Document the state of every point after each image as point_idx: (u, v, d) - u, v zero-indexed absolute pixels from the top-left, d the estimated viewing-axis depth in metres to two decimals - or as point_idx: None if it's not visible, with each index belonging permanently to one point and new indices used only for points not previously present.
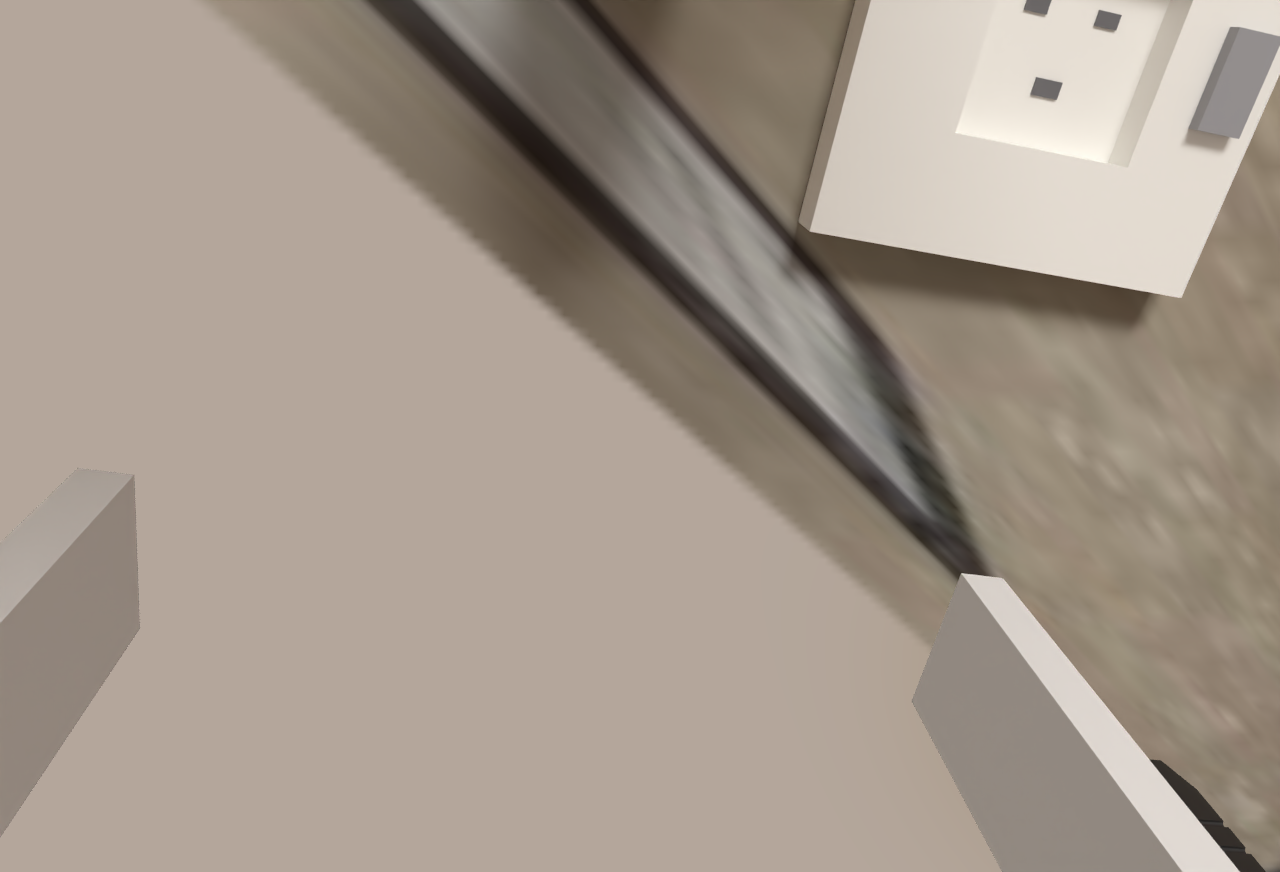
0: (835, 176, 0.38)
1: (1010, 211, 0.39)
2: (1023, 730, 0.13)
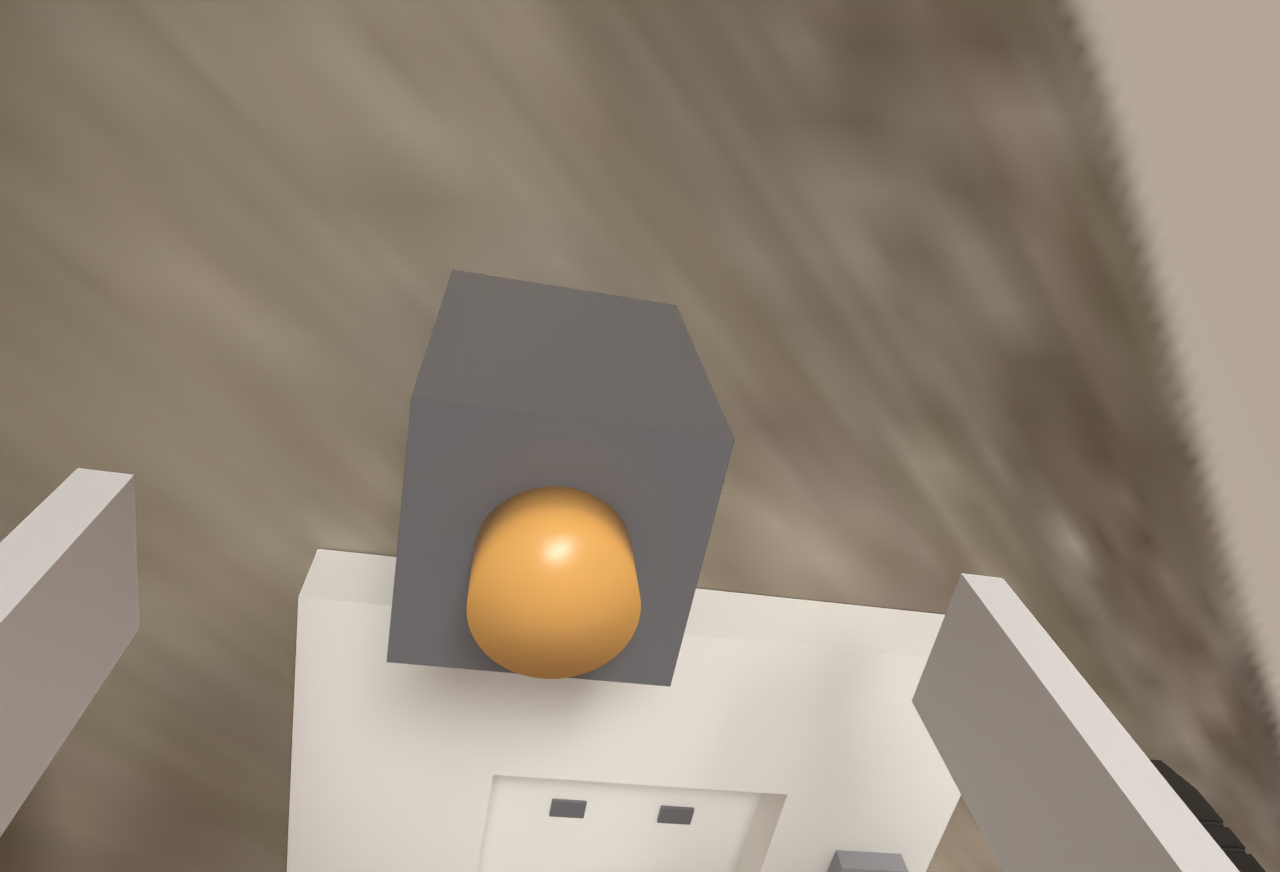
0: None
1: None
2: (1023, 730, 0.13)
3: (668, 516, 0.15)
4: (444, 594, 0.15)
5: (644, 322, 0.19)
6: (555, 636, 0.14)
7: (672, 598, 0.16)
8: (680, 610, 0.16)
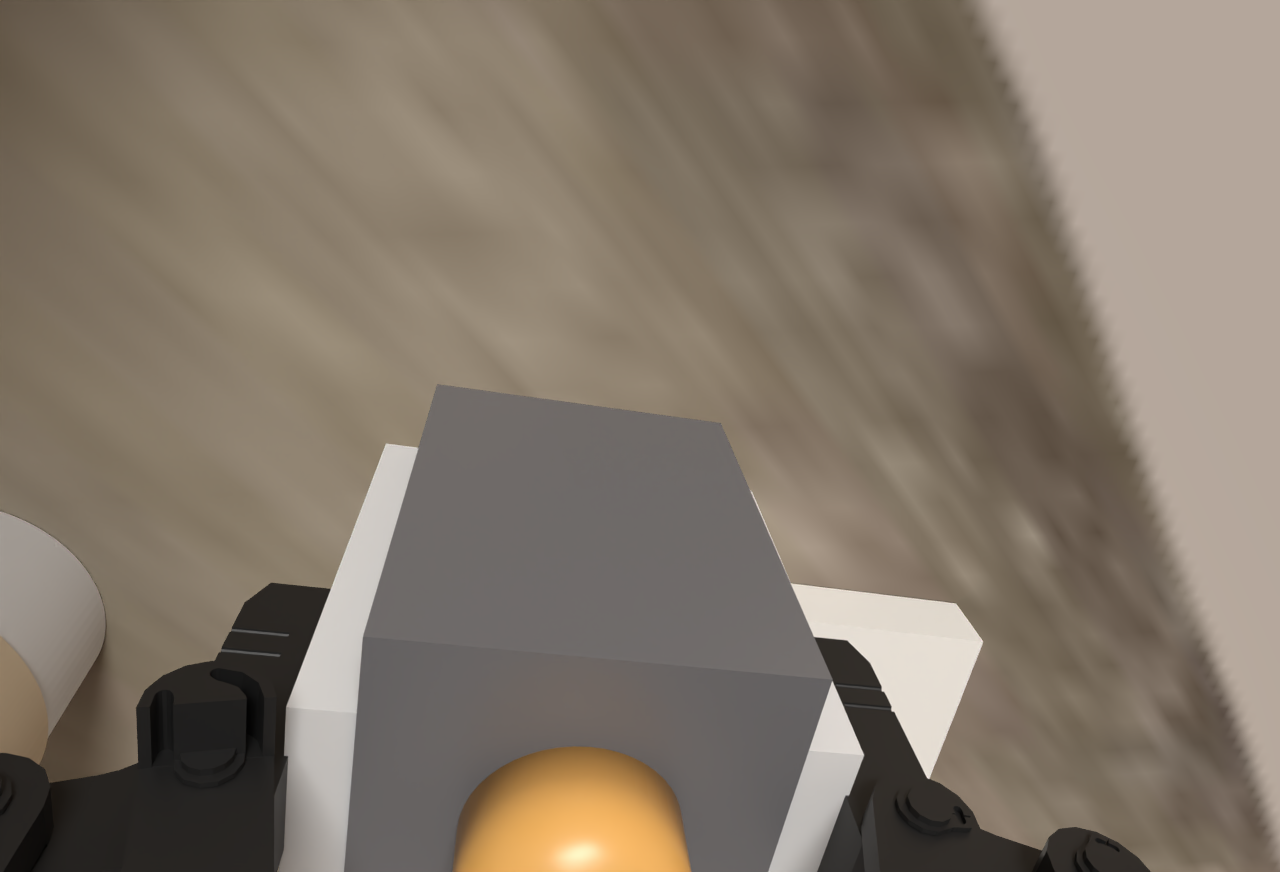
0: None
1: None
2: None
3: (735, 778, 0.10)
4: None
5: (684, 457, 0.15)
6: None
7: None
8: None
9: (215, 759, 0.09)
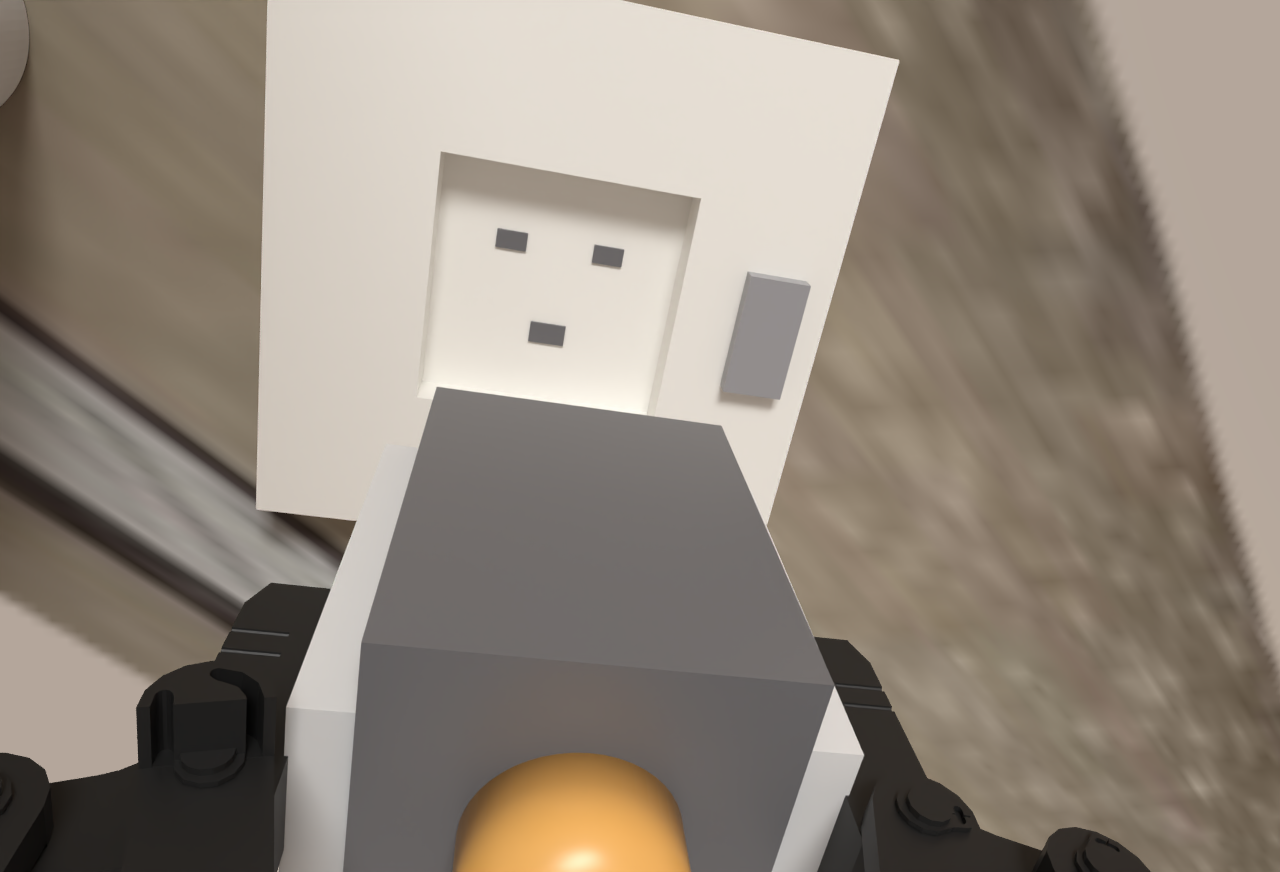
0: (272, 449, 0.31)
1: None
2: None
3: (735, 785, 0.10)
4: None
5: (684, 460, 0.15)
6: None
7: None
8: None
9: (215, 759, 0.09)
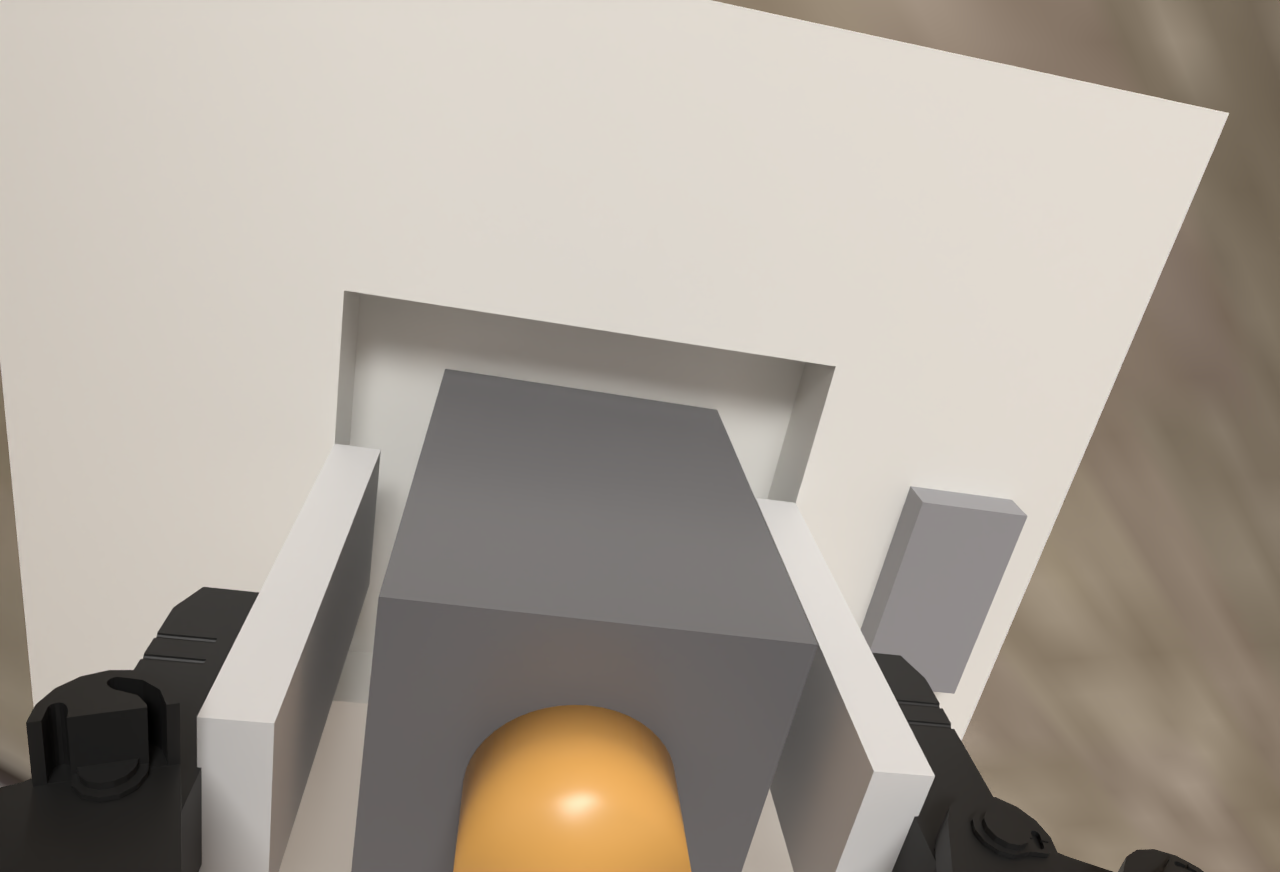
0: None
1: None
2: None
3: (725, 738, 0.11)
4: (423, 837, 0.11)
5: (682, 440, 0.15)
6: None
7: (726, 835, 0.12)
8: (736, 850, 0.12)
9: (115, 771, 0.08)
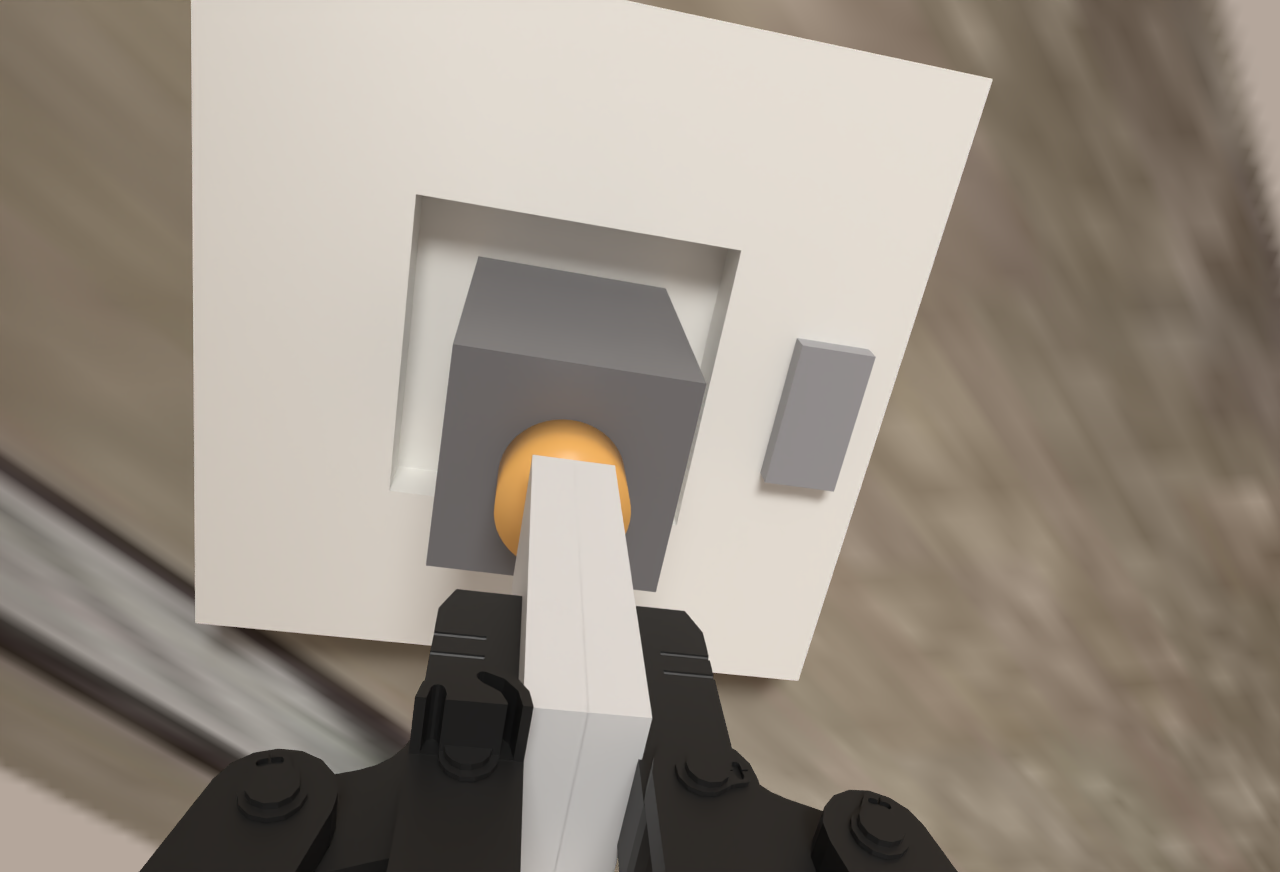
0: (213, 552, 0.25)
1: (506, 586, 0.26)
2: None
3: (654, 446, 0.19)
4: (473, 508, 0.19)
5: (638, 300, 0.23)
6: None
7: (657, 515, 0.19)
8: (664, 526, 0.19)
9: (474, 756, 0.09)
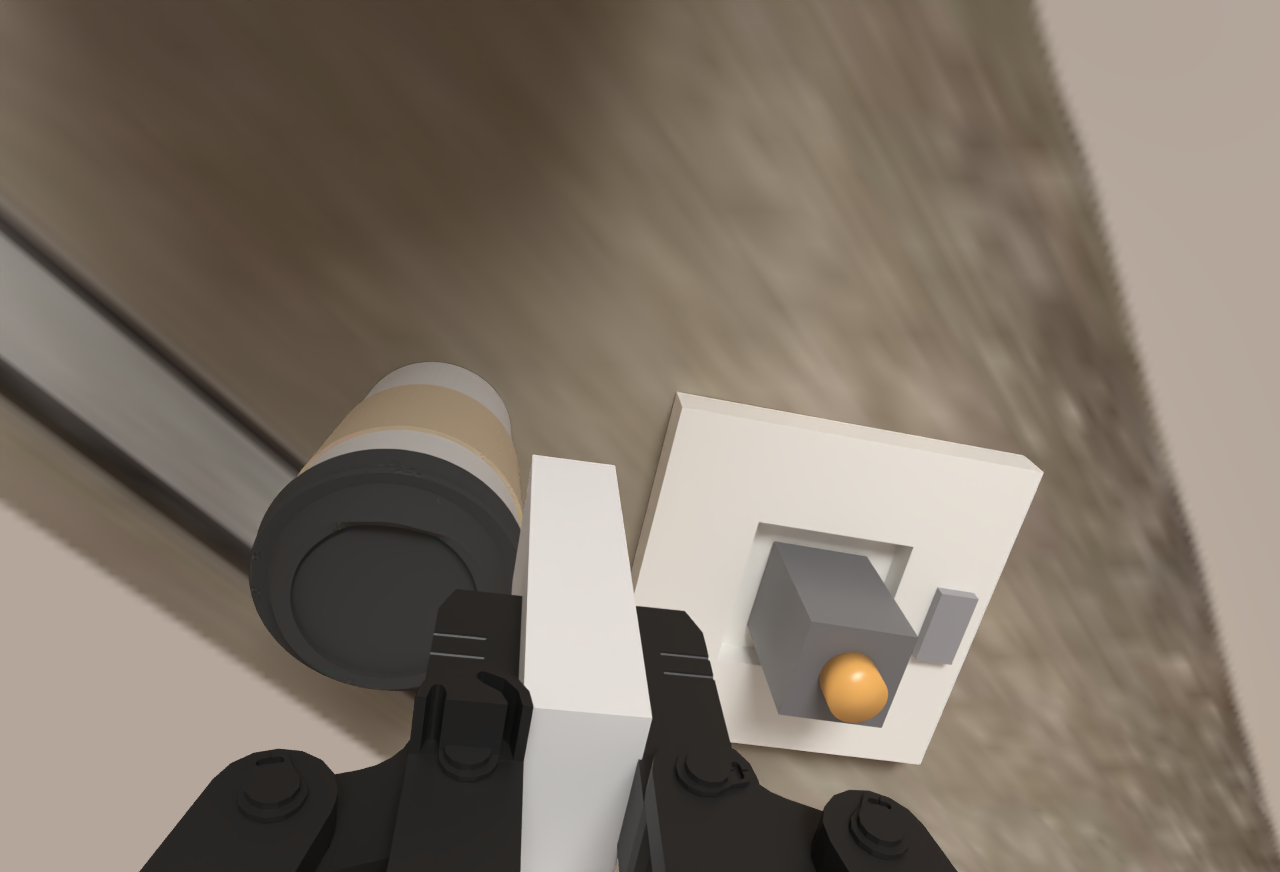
0: None
1: (768, 710, 0.48)
2: None
3: (891, 663, 0.40)
4: (805, 689, 0.40)
5: (860, 570, 0.45)
6: (856, 707, 0.39)
7: (887, 693, 0.41)
8: (890, 698, 0.41)
9: (474, 756, 0.09)
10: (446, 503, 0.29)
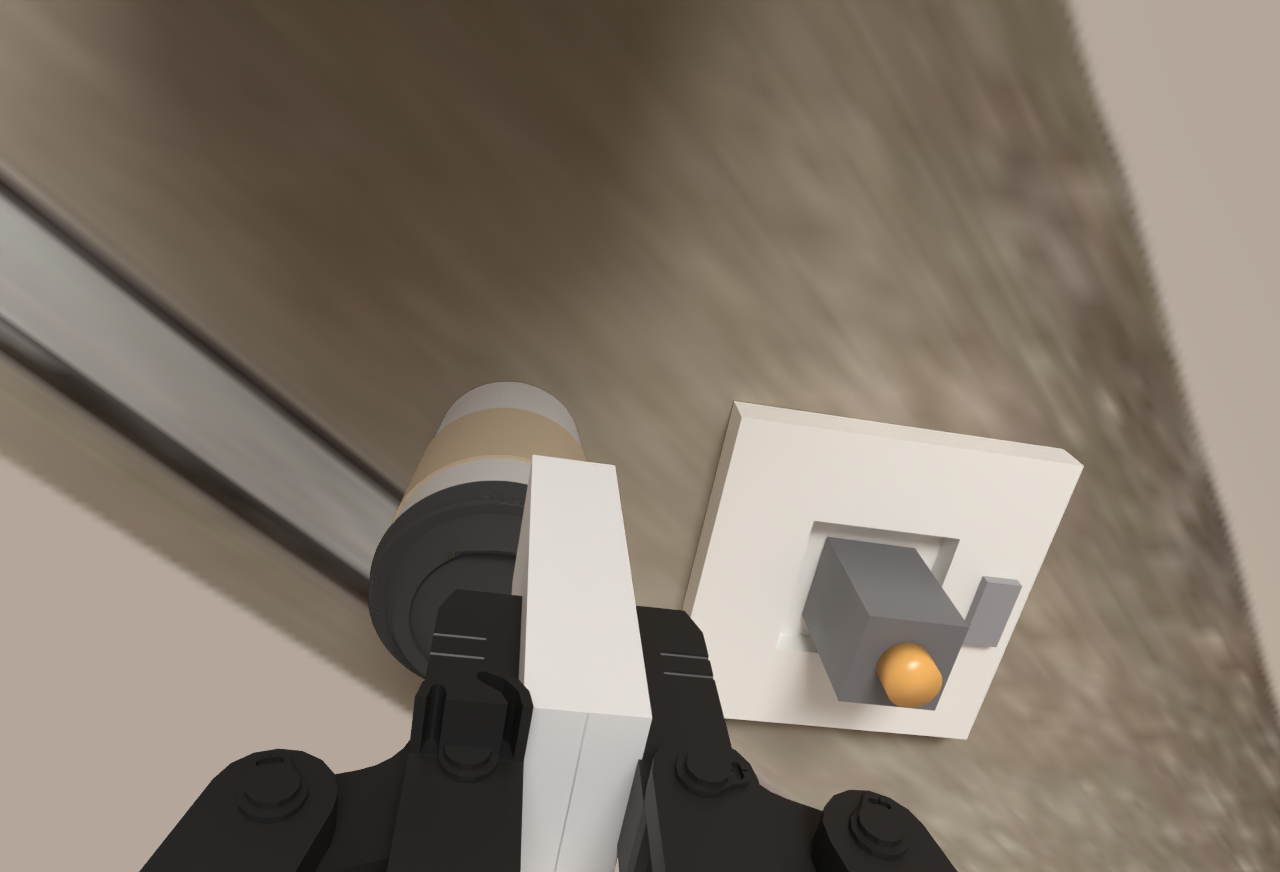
0: None
1: (823, 693, 0.51)
2: None
3: (943, 651, 0.43)
4: (864, 677, 0.43)
5: (910, 562, 0.47)
6: (913, 694, 0.42)
7: None
8: (942, 683, 0.44)
9: (474, 756, 0.09)
10: None
